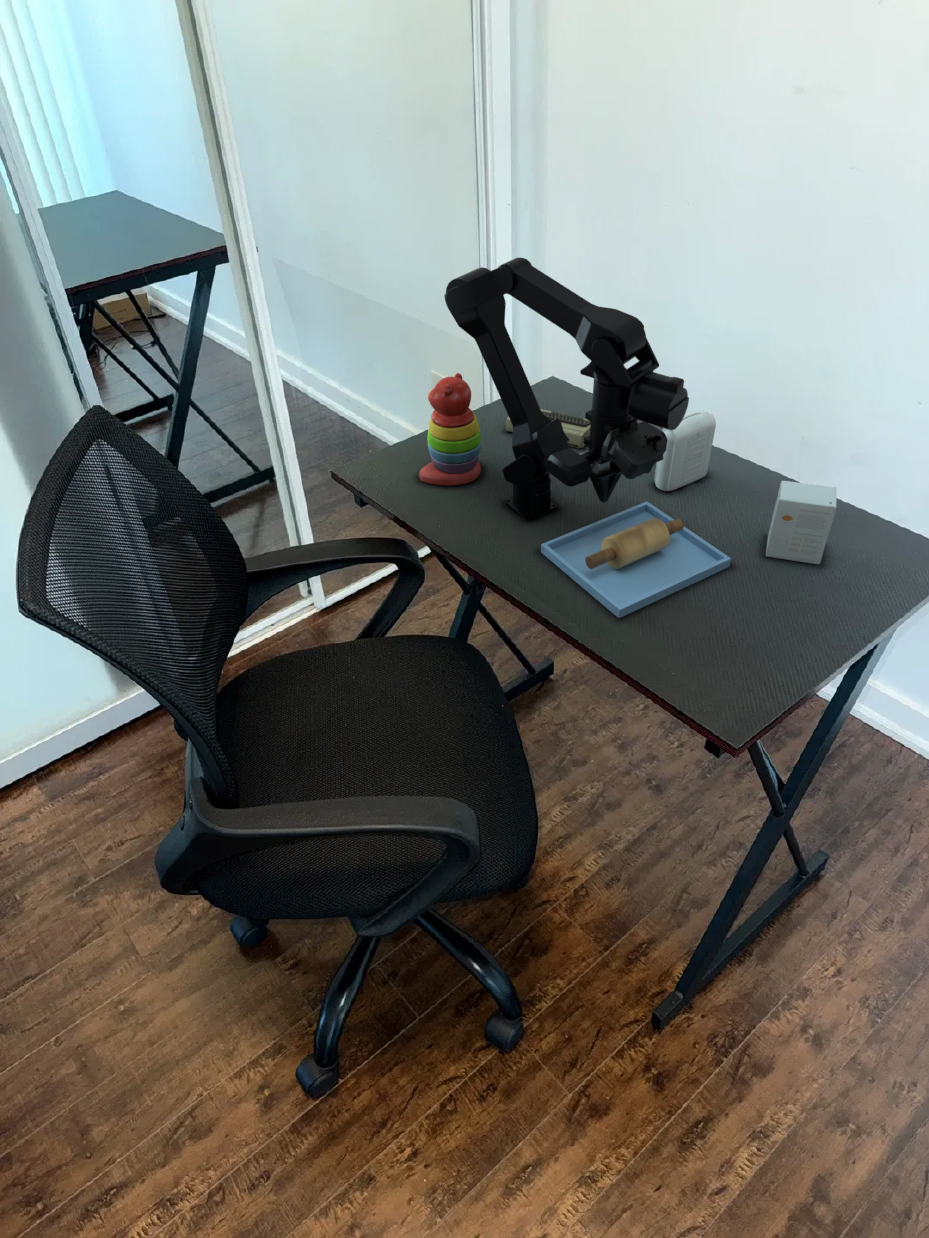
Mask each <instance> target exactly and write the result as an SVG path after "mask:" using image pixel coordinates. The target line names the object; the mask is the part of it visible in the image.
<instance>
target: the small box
mask: <svg viewBox="0 0 929 1238" xmlns="http://www.w3.org/2000/svg"><path fill="white" fill-rule="evenodd" d="M775 500H776V501H775V504H774V507H773V512H772V516H771V517H772V518H771V522H770V526H769V530H768V534H767V538H766V539H767V540H766V548H765V557H766V558H767V557H768V558H773V559H780V560H788V561H794V562H799V563H800V562H801V563H807V564H813V565H820V564H821V563H822V558H823V555H824V552H825V548H826V546H827V545H826V544H827V541H828V538H829V535H830V531H831V529H832V525H833V521H834V519H835V515H836V512H837V487H836V486H828V485H821V484H812V483H805V482H804V483H803V482H797V481H789V480H781V481H780V484H779V488H778V493H777V497H776V499H775Z"/></svg>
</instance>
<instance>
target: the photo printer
mask: <svg viewBox="0 0 929 1238" xmlns="http://www.w3.org/2000/svg"><path fill="white" fill-rule="evenodd" d="M716 428H717V423H716V418H715V416H714V414H713V413H710V412H709V411H705V410H697V411H693V412H689V413H685V416H684V418H683V420H682V421H681V423H680V424H679V426H678V427H677V428H676V429H674V430H669V429H665V428H663V429H662V430H661V431H662V432H664V433H665V434H666V437H667V447H666V451H665V452H664V454H663V460H661V461H659V462H657V463H655V464H656V465H655V472H654V479H653V481H654V483H655V487H656V488H657V489H659V490H661V491H663V492H672V491H675V490H677V489H679V488H681V487H684V486H686V485H689V484H691V483H695V482H696V481H698V480H701V479H702V478H704V477H706V476H707V475H708V470H709V464H710V459H711V453H712V449H713V443H714V438H715V432H716Z"/></svg>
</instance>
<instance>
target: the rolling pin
mask: <svg viewBox="0 0 929 1238" xmlns="http://www.w3.org/2000/svg"><path fill="white" fill-rule="evenodd" d="M673 519H674V518H673ZM684 527H685V525H684V522H683V520H682V519H681V518H675V519H674V520H672V521H670V522H667V523H665V524H664V523H663V522H662V521H661V520H660V519H658V518H652V519H649V520H647V521H644V522H642V523H640V524H637V525H635V526H632V527H630V528H628V529H625V530H623V531H620V532H618V533H616V534H613V535H611V536H609V537H606V538H604V539H603V541H602V544H601V549H602V550H601V551H599V552H596V553H594V554H592V555H589V556H587V557H586V558H585V562H586V565H587V566H588V568H590V569H593V568H596V567H598V566H600V565H603V564H605V563H608V565H609V566H611V567H612V568H614V569H619V568H621V567H623V566H625V565H628V564H630V563H632V562H635V561H637V560H639V559H641V558H644V557H646V556H648V555H651V554H653V553H655V552H657V551H660V550H662V549H664V548H666V547H667V546H668V545H669V541H670V535H672V534H674V533H677V532H679V531H681V530H683V528H684Z"/></svg>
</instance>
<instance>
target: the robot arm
mask: <svg viewBox="0 0 929 1238" xmlns="http://www.w3.org/2000/svg"><path fill="white" fill-rule="evenodd" d="M505 295H509V296H510V297H512V298H514V299H515V300H516V301H518V302H520V303H522V304H523V305H525V306H527V307H528V308H529V309H530V310H532V311H534V312H535V313H537V314H538V315H540V316H541V317H543V318H545V319H546V320H547V321H549V322H550V323H552V324H554V325H555V326H556V327H558V328H559V329H561V330H562V331H564V332H566V333H567V334H568V335H569V336H571V337H572V338H573V339H574V340H575V341H576V344H577V345H578V348H579V350H580V352H581V353H582V354H583V356H585V357H586V358H587V359H588V360H589V363H588V364H587V365H586V366H584V367H583V368H581V369H580V371H579V373H580V375H582V376H585V377H588V378H592V379H593V386H592V399H591V410H588V411H585V415H584V416H585V417H584V419H587V420H589V421H590V422H591V425H590V436H587V437H584V444H585V445H584V446H587V447H588V450H586V451H583V452H580V453H579V452H577V451H575V450H574V449H573V448H571V447H570V446H568V443H567V442H568V441H569V438H568V437H567V436H566V434H565V433H564V430H563V427H562V423H561V421H560V420H559V419H558V418H556V419H554V420H553V421H552V420H551V419H549V418H548V417H547V416H546V415H544V414H543V413H542V411H541V410H540V409H541V408H540V404H539V402H538V400H537V398H536V396H535V393H534V390H533V388H532V386H531V383H530V382H529V379H528V377H527V374H526V371H525V370H524V367H523V365H522V362H521V360H520V358H519V355H518V353H517V350H516V348H515V346H514V343H513V341H512V339H511V337H510V334H509V332H508V329H507V327H506V305H507V303H506V302H507V301H506V298H505ZM444 302H445V305H446V308H447V309H448V311H449V312H450V314H451V316H452V318H453V319H454V321H455V322H456V324H457V326H458V327H459V328H460V329H461V330H462V331H464V332H465V333H467V334H468V335H469V336H470V337H471V338H473V340H474V341H475V343H476V345H477V347H478V349H479V352H480V354H481V356H482V358H483V361H484V364H485V365H486V368H487V370H488V372H489V376H490V377H491V379H492V382H493V384H494V386H495V389H496V391H497V393H498V395H499V397H500V400H501V401H502V404H503V407H504V409H505V411H506V413H507V417H508V416H509V418H510V421H511V423H512V426H513V432H512V438H511V450H512V452H513V456H514V460H513V461H511V462H510V463H509V464H507V465H506V466H504V467H503V468H502V470H501V471H502V474H503V477H504V481H505V482H507V483H510V484H512V497H511V498H508V499H506V500H505V505H507V507H509V508H510V509H511V510H513V511H514V513H516V514H517V515H519V516H520V517H521V518H522V519H523V520H525V521H528V520H529V521H530V520H532V519H534V518H537V517H540V516H542V515H545V514H547V513H550V512H553V511H555V510H557V509H558V505H557V504H556V503H555V502H553V501H552V489H551V482H552V478H550V475H551V476H552V477H554V478H555V479H556V480H558V481H559V482H561V483H562V484H563V485H564V486H566V487H571V488H573V487H575V486H577V485H580V484H581V485H582V484H583V483H586V482H588V480H590V482H591V484H592V486H593V488H594V491H595V493H596V495H597V499H599V502H601V503H602V504H604V503H608V501H609V500H610V499H611V498H610V497H611V495H612V493H613V492H614V490H615V488H616V485H617V484H618V482H619V480H620V478H621V476H623V477H625V478H626V479H628V480H635V479H636V478H637V477H639V476H642V475H644V474H649V473H651V471H652V469H653V468H654V466H655V464H656V462H659V461H661V460H663V454H664V452H665V451H666V447H667V437H666V434H665V433H664V432H662V430H661V429H659V428H663V429H664V428H665V429H669V430H674V429H676V428H677V427H678V426H679V424H680V423H681V421H682V420H683V418H684V416H685V415H686V414H687V410H688V406H689V402H690V397H689V393H688V390H687V388H685V387H684V386H685V379H683V378H681V377H677V376H669V375H665V374H661V373H658V372H655V370H656V369H658V368H659V367H660V362H659V361H658V359H657V356H656V355H655V353H654V351H653V348H652V347H651V344H650V342H649V340H648V338H647V333H646V331H645V325H644V323H643V322H642V320H640V319H639V318H637V316H634V315H632V314H630V313H627V312H624V311H622V310H619V309H617V308H612V307H606V306H598V305H596V304H593V303H591V302H590V301H588V300H587V299H585V298H584V297H582V296H580V295H579V294H577V293H575V292H574V291H572V290H571V289H570V288H568V287H566V286H565V285H563V284H561V283H560V282H558V281H557V280H555V279H554V278H552V277H550V276H549V275H547V273H544V272H543V271H541V270H540V269H538V268H536V267H535V266H533V265H532V263H531V261H530V260H528V259H527V258H525V257H515V258H512V259H510V260H509V261H506V262H504V263H502V264H500V265H498V266H497V268H494V269H492V270H490V269H489V268H487V267H484V266H483V267H479V268H475V269H473V270H470V271H468V272H467V273H464V274H462V275H460V276H458V277H455V278H453V279H451V280H450V281H449V282H448V284H447V285H446V289H445V293H444ZM634 358H635V359H637V362H635V363H634V364H633V365H631V366H629V367H628V368H627V367H626V366H625V365H626V364H627V363H629V362H630V361H631V360H633V359H634ZM638 421H641V422H638ZM657 427H659V428H657Z"/></svg>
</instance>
